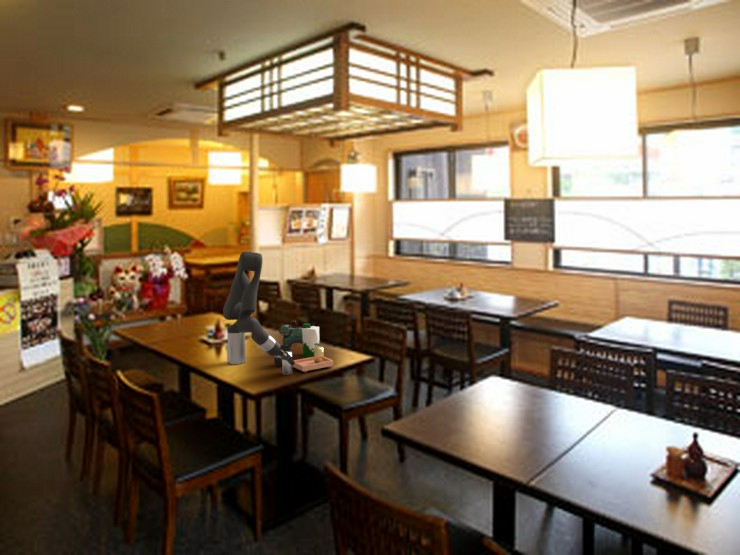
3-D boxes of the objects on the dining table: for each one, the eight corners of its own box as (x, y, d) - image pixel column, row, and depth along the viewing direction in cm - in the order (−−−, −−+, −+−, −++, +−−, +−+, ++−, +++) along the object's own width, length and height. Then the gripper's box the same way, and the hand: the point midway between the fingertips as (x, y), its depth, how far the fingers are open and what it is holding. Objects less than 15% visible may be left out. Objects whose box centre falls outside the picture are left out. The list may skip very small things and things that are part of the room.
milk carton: (306, 356, 307) (305, 322, 305) (321, 357, 305) (320, 322, 303) (301, 360, 299) (300, 325, 296) (317, 361, 297) (316, 325, 295)
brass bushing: (317, 364, 283) (316, 349, 282) (312, 362, 287) (312, 347, 286) (325, 362, 286) (325, 347, 285) (320, 360, 290) (320, 345, 289)
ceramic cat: (279, 354, 313) (278, 320, 311) (284, 351, 319) (282, 318, 317) (312, 356, 308) (311, 321, 306) (315, 353, 315) (314, 319, 312)
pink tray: (302, 373, 274) (302, 366, 274) (291, 368, 285) (291, 360, 284) (333, 367, 284) (333, 360, 284) (321, 362, 295) (321, 355, 294)
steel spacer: (285, 375, 272) (284, 354, 271) (280, 373, 276) (280, 352, 275) (294, 373, 275) (293, 352, 273) (289, 371, 279) (289, 350, 277)
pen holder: (288, 361, 298) (287, 343, 296) (294, 365, 289) (293, 347, 288) (271, 364, 293) (271, 346, 292) (277, 368, 285) (276, 349, 284)
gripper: (281, 340, 263) (301, 359, 272) (265, 336, 273) (284, 354, 282) (272, 353, 260) (293, 371, 269) (256, 348, 270) (276, 366, 279)
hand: (288, 362), depth 275 cm, fingers open, 8 cm apart
